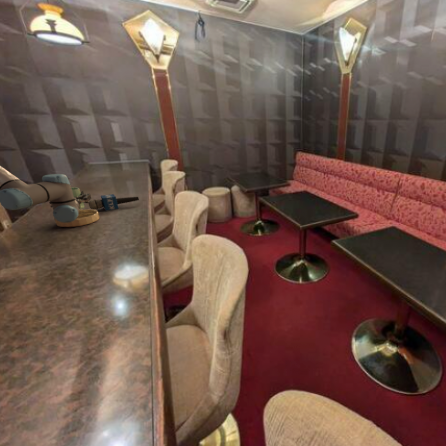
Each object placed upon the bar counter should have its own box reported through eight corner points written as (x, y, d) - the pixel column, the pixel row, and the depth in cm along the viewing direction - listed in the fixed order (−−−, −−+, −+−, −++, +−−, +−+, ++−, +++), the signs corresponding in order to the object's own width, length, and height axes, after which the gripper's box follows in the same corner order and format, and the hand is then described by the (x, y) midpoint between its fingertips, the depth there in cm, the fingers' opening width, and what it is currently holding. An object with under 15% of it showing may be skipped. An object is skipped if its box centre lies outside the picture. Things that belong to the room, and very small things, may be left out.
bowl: (53, 230, 119) (51, 222, 117) (60, 219, 132) (57, 212, 130) (98, 223, 128) (96, 216, 126) (100, 214, 141) (98, 207, 139)
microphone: (138, 193, 155) (87, 200, 139) (140, 205, 158) (91, 213, 142) (135, 191, 161) (86, 197, 145) (138, 202, 163) (90, 209, 147)
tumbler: (69, 211, 122) (63, 191, 118) (61, 208, 125) (55, 189, 122) (88, 207, 129) (82, 188, 125) (79, 205, 132) (74, 186, 128)
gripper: (39, 217, 107) (47, 204, 124) (99, 209, 119) (99, 198, 136) (33, 201, 104) (41, 190, 121) (95, 194, 116) (95, 185, 133)
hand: (72, 194), depth 128 cm, fingers closed on tumbler, 8 cm apart
